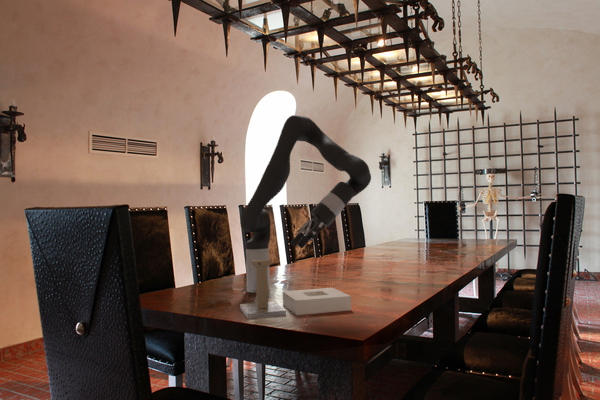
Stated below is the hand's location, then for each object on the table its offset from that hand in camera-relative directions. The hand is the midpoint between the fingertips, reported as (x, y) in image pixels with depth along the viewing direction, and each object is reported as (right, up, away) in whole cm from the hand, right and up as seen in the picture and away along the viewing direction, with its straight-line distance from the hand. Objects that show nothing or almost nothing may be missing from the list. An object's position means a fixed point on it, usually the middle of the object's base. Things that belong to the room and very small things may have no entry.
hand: (296, 245), depth 157 cm
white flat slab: (-11, -21, -3) cm, 24 cm away
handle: (-11, -20, -3) cm, 23 cm away
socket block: (+7, -21, +2) cm, 22 cm away
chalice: (-13, -22, +15) cm, 29 cm away
